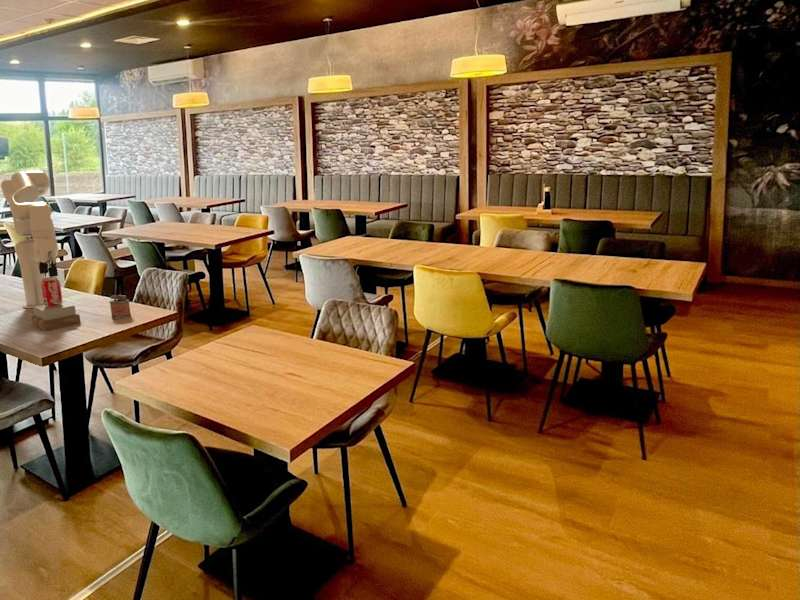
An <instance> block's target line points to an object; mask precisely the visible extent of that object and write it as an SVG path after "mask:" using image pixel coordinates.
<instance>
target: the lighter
mask: <svg viewBox="0 0 800 600" xmlns="http://www.w3.org/2000/svg"><path fill="white" fill-rule="evenodd" d="M109 304H110V312H111V318H112V319H126V318H130V317H132V314H131V308H130V299H127V296H126V295H122V294H118V295H117V294H116V295H111V296H110V301H109Z"/></svg>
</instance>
